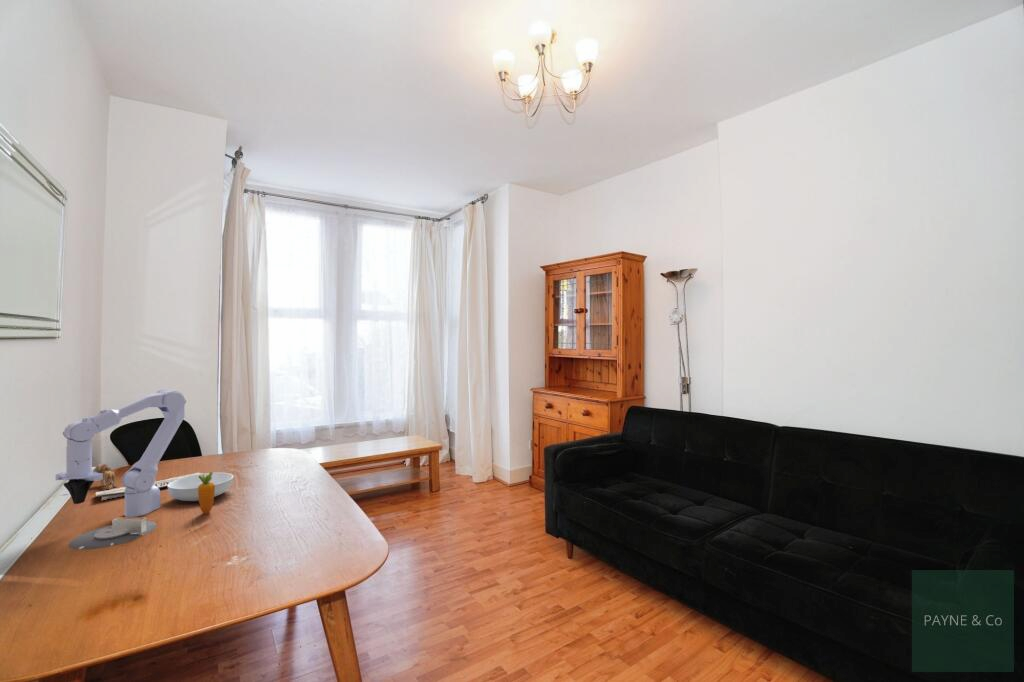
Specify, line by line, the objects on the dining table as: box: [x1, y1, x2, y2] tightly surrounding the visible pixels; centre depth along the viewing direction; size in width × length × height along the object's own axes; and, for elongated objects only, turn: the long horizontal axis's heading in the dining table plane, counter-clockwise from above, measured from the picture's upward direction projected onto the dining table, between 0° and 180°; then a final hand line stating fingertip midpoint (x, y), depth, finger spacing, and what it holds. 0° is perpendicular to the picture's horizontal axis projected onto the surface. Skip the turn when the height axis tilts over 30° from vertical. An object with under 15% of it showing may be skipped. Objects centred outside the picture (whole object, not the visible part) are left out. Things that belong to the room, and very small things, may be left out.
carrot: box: [198, 471, 215, 515], centre depth 150 cm, size 5×5×15 cm
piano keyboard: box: [95, 472, 203, 502], centre depth 180 cm, size 35×12×4 cm, turn 142°
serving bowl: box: [166, 472, 234, 502], centre depth 169 cm, size 21×21×7 cm
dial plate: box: [68, 520, 157, 551], centre depth 134 cm, size 20×20×1 cm
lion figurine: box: [92, 463, 118, 490], centre depth 182 cm, size 15×5×9 cm, turn 65°
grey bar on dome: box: [95, 516, 147, 541], centre depth 134 cm, size 14×9×5 cm, turn 90°
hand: (79, 502), depth 138 cm, fingers closed
